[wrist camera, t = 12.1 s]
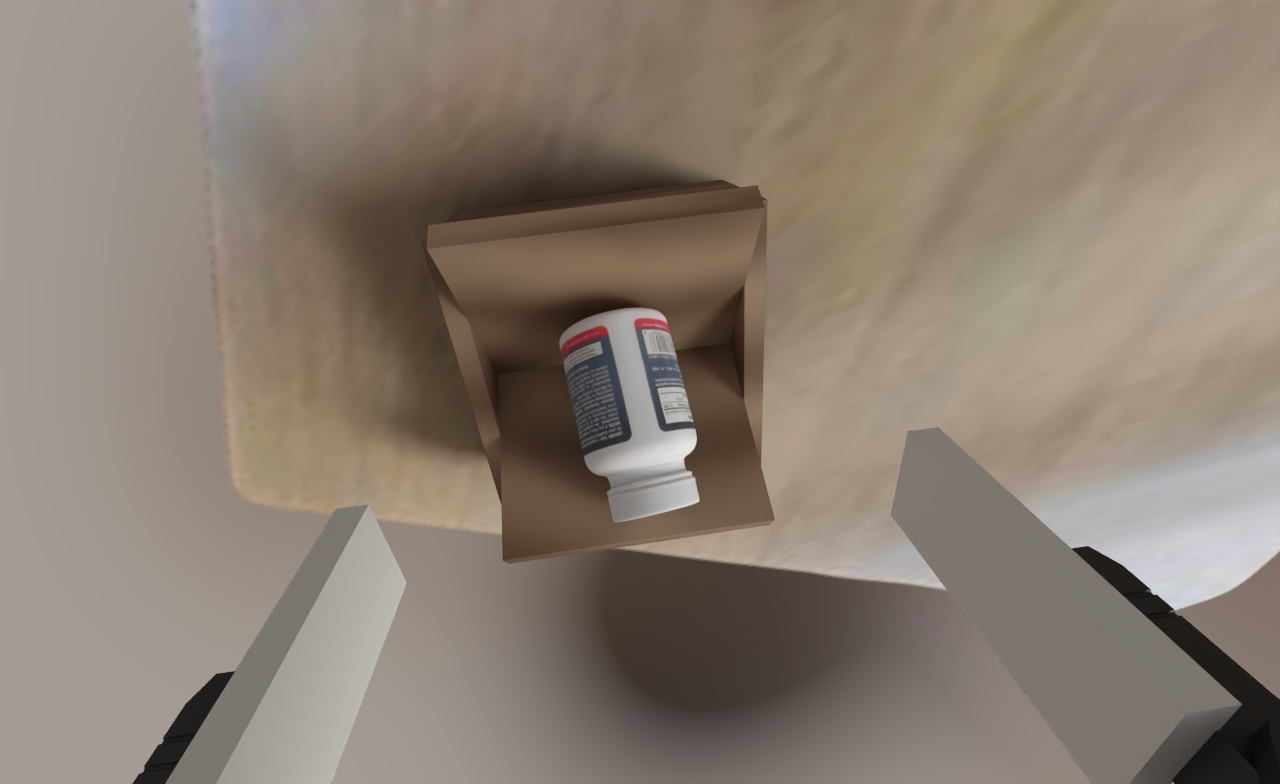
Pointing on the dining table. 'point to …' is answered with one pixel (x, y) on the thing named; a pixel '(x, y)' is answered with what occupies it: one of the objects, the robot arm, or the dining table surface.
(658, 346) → the pill bottle
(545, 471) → the wooden box with flaps
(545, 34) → the dining table surface
